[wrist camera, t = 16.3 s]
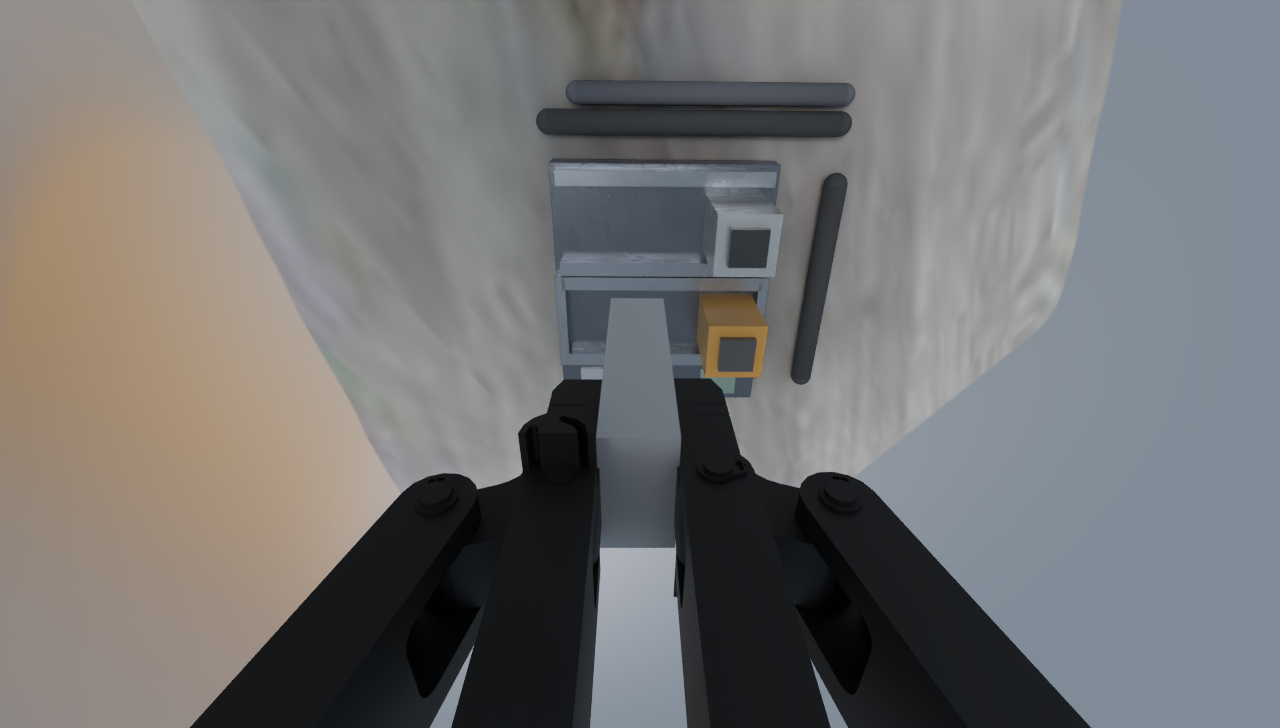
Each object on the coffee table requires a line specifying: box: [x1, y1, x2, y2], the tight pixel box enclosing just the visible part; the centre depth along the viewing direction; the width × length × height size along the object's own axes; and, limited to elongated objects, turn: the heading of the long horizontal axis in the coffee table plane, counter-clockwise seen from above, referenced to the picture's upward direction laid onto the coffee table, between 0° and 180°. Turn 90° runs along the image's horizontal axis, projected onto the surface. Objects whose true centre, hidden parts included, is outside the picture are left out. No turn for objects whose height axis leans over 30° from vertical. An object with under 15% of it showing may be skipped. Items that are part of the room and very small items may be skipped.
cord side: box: [791, 173, 847, 385], centre depth 42 cm, size 18×2×2 cm, turn 179°
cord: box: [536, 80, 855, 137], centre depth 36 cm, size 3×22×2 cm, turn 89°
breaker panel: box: [549, 159, 784, 397], centre depth 39 cm, size 19×16×9 cm
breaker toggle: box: [697, 294, 768, 377], centre depth 39 cm, size 4×4×7 cm
